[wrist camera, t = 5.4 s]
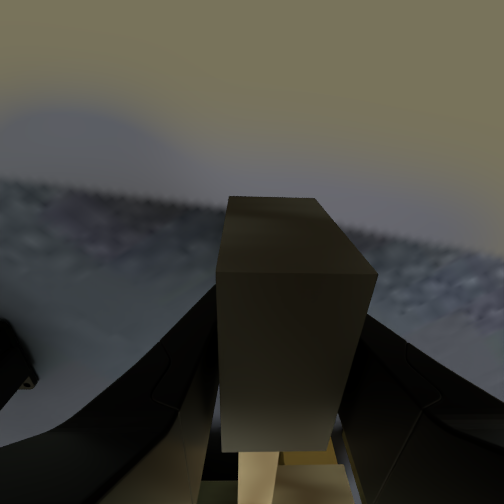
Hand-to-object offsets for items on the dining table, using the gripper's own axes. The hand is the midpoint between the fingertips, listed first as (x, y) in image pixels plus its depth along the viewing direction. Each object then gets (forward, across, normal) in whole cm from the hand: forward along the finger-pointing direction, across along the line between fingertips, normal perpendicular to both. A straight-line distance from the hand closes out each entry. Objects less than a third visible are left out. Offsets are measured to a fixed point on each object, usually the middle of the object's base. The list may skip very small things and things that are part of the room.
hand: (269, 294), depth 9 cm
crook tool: (+2, -2, +7) cm, 7 cm away
